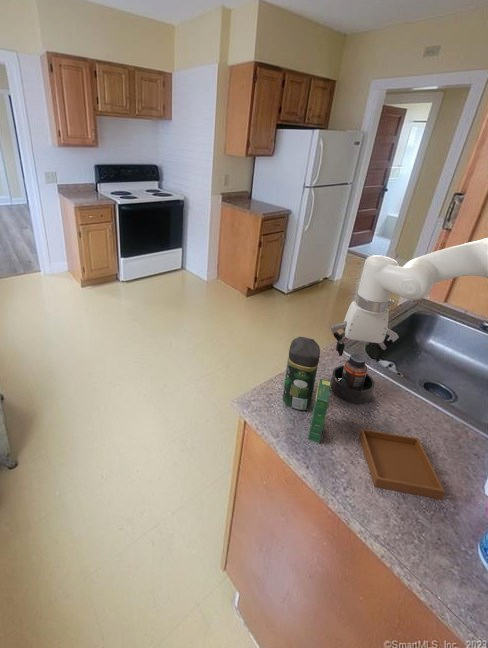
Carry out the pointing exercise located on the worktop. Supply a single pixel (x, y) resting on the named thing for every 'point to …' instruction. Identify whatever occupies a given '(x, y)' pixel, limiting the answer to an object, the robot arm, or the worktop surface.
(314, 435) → the coffee box
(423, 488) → the tray
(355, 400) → the bowl
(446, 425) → the worktop surface
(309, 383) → the coffee jar
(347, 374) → the supplement bottle
